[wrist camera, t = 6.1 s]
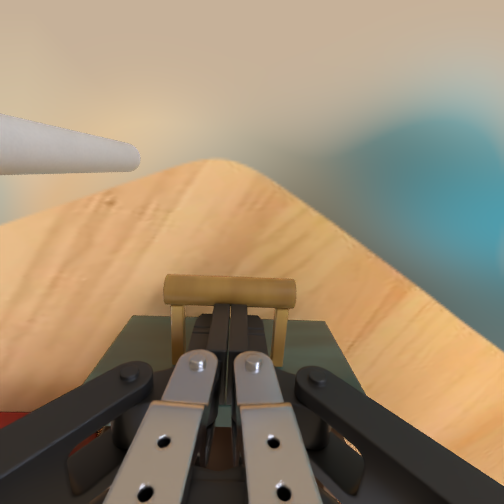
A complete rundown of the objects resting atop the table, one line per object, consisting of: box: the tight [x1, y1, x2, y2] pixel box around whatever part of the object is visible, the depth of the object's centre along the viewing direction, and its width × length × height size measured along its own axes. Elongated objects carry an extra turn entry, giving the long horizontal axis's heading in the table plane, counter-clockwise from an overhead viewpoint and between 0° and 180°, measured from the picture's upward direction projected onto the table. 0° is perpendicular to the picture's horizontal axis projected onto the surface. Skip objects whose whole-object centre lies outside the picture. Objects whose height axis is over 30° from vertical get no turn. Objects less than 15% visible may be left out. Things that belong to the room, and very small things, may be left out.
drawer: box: [82, 274, 366, 500], centre depth 17 cm, size 18×13×7 cm
